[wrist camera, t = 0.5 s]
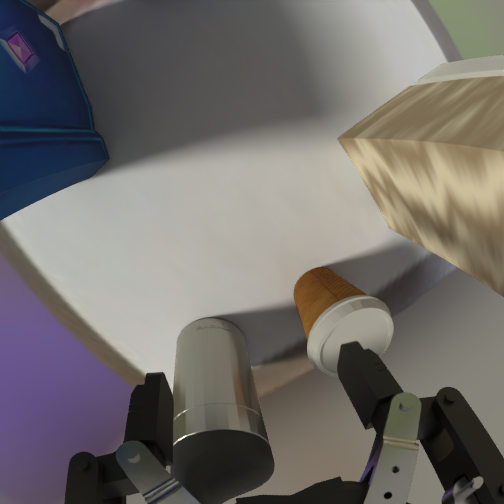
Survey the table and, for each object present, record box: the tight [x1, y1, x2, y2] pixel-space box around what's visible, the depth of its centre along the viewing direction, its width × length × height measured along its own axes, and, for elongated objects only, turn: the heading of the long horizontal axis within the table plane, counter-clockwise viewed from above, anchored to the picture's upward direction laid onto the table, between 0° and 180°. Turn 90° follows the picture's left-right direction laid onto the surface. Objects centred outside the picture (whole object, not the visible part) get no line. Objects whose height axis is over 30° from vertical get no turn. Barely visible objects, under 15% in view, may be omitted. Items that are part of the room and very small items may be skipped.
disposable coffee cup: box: [294, 268, 394, 377], centre depth 32 cm, size 10×10×12 cm
